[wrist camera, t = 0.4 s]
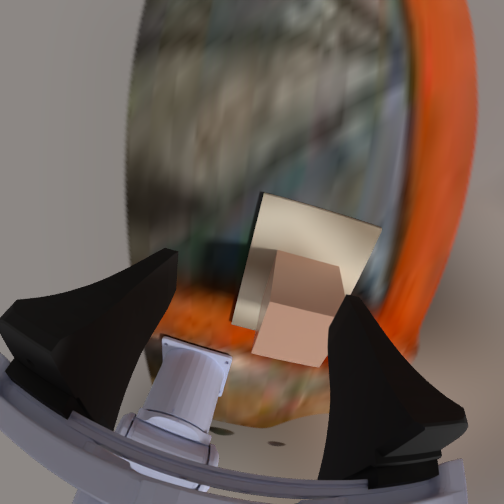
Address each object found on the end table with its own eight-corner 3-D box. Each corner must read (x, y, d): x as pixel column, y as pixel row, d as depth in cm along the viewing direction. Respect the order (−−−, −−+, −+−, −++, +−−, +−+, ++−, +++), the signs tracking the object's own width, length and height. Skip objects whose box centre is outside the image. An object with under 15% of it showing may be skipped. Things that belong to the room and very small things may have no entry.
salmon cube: (317, 312, 23) (318, 367, 18) (261, 298, 23) (251, 352, 18) (339, 266, 21) (349, 320, 16) (277, 249, 21) (269, 301, 16)
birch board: (321, 343, 26) (321, 346, 25) (231, 321, 26) (231, 324, 25) (381, 227, 19) (382, 229, 19) (264, 192, 19) (263, 193, 19)
